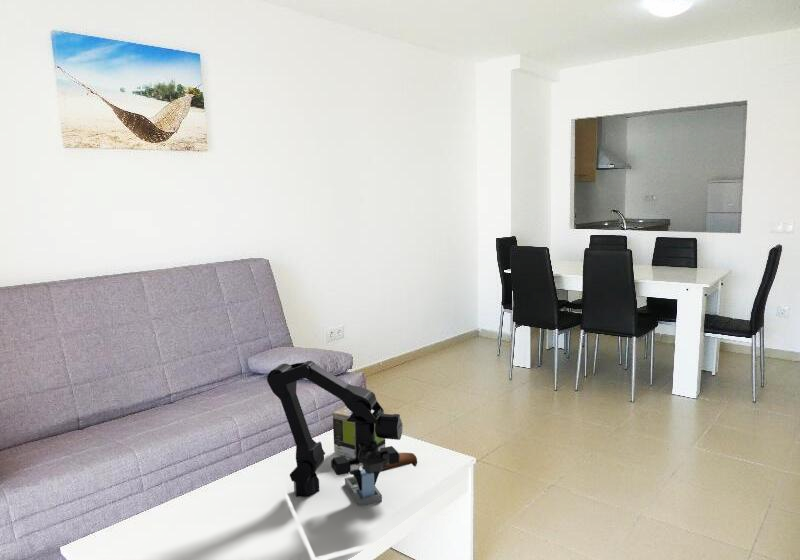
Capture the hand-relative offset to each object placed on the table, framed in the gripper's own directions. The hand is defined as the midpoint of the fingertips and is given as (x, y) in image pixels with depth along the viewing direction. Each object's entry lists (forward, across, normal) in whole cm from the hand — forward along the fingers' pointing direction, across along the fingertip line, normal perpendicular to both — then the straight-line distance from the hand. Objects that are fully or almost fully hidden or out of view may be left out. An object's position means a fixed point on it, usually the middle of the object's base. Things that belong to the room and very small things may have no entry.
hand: (366, 488), depth 164 cm
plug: (+3, 0, 0) cm, 3 cm away
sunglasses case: (+5, +13, +18) cm, 23 cm away
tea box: (+4, +8, +30) cm, 32 cm away
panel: (+4, 0, +4) cm, 5 cm away
